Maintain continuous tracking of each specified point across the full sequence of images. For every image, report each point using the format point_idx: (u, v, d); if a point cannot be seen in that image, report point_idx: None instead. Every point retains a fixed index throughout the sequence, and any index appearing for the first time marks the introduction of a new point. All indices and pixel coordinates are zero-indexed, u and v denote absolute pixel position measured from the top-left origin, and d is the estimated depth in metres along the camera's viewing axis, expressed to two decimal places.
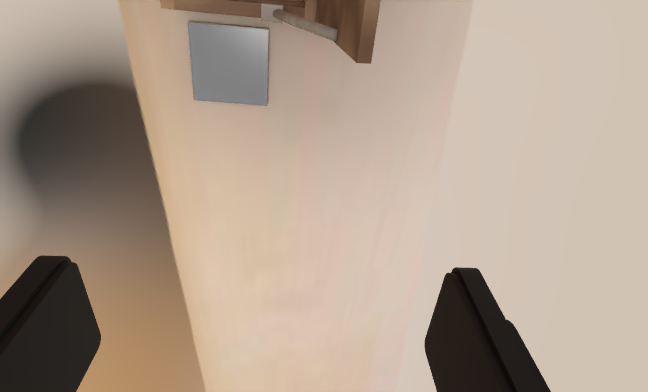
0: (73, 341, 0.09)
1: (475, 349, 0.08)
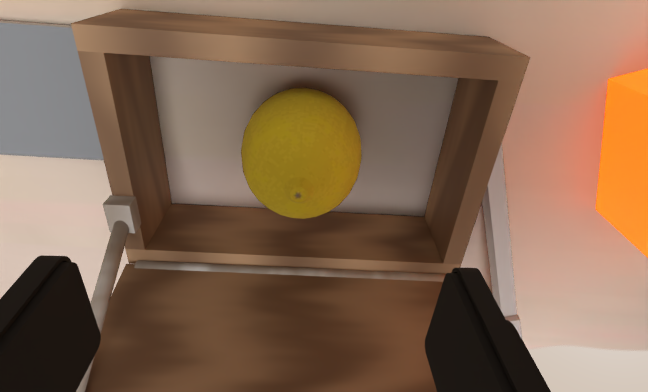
0: (73, 341, 0.09)
1: (475, 349, 0.08)
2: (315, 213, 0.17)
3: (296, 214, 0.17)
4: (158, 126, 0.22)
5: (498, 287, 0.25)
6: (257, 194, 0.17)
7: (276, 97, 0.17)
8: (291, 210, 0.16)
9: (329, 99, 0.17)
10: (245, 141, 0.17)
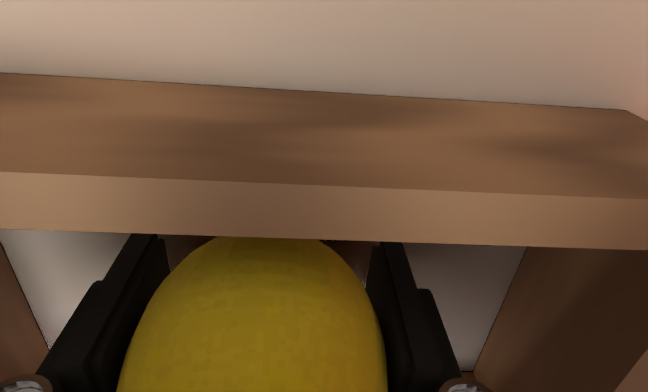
0: None
1: (386, 310, 0.09)
2: None
3: None
4: (4, 266, 0.12)
5: None
6: None
7: (194, 281, 0.07)
8: None
9: (317, 280, 0.08)
10: None
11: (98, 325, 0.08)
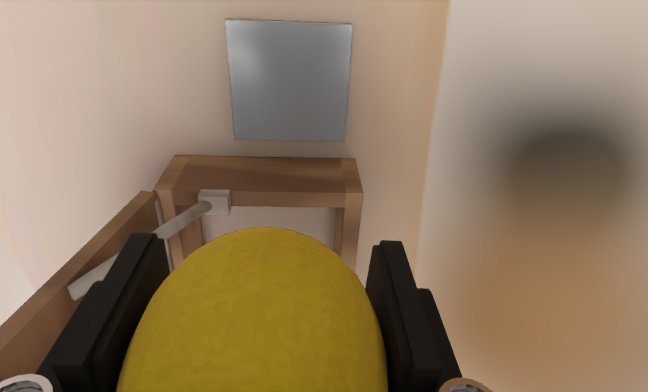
0: None
1: (385, 310, 0.09)
2: None
3: None
4: None
5: None
6: None
7: (193, 282, 0.07)
8: None
9: (317, 281, 0.08)
10: None
11: (98, 325, 0.08)
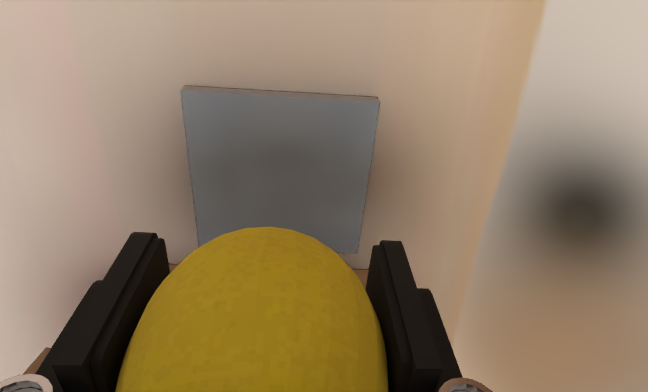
0: None
1: (386, 311, 0.09)
2: None
3: None
4: None
5: None
6: None
7: (193, 281, 0.07)
8: None
9: (317, 280, 0.08)
10: None
11: (98, 325, 0.08)
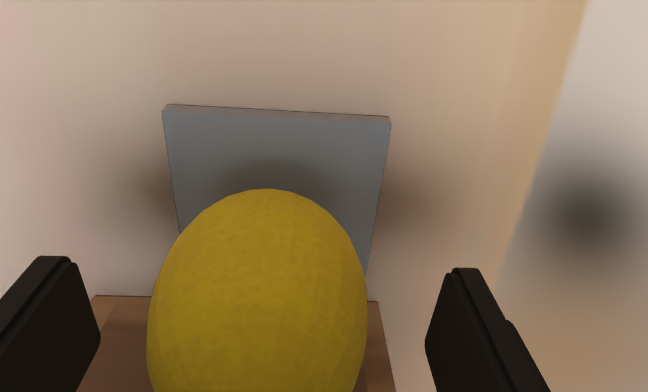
0: (73, 341, 0.09)
1: (475, 349, 0.08)
2: None
3: None
4: None
5: None
6: None
7: (210, 224, 0.09)
8: None
9: (309, 225, 0.09)
10: (149, 314, 0.09)
11: None
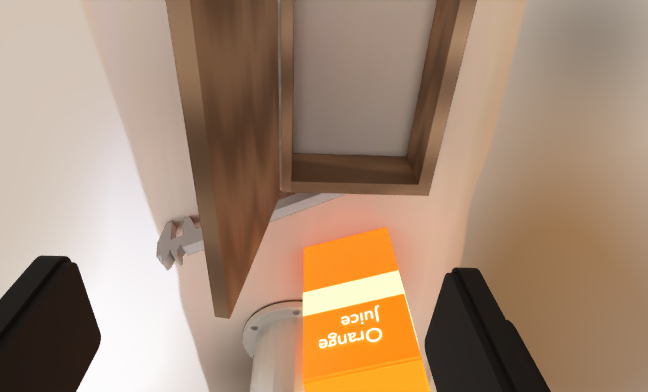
0: (73, 341, 0.09)
1: (475, 349, 0.08)
2: None
3: None
4: None
5: None
6: None
7: None
8: None
9: None
10: None
11: None
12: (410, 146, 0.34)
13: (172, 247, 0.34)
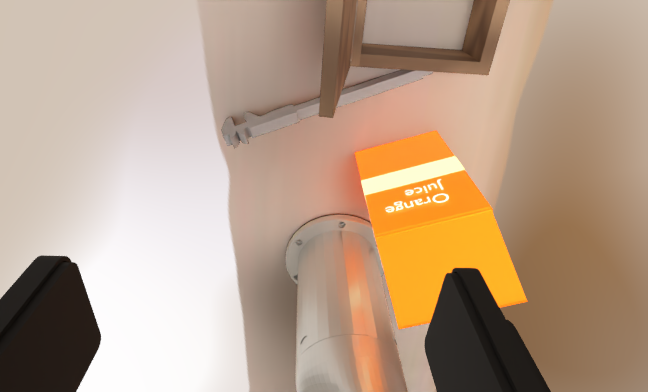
0: (73, 341, 0.09)
1: (475, 349, 0.08)
2: None
3: None
4: None
5: (319, 102, 0.36)
6: None
7: None
8: None
9: None
10: None
11: None
12: (467, 36, 0.36)
13: (238, 129, 0.35)
